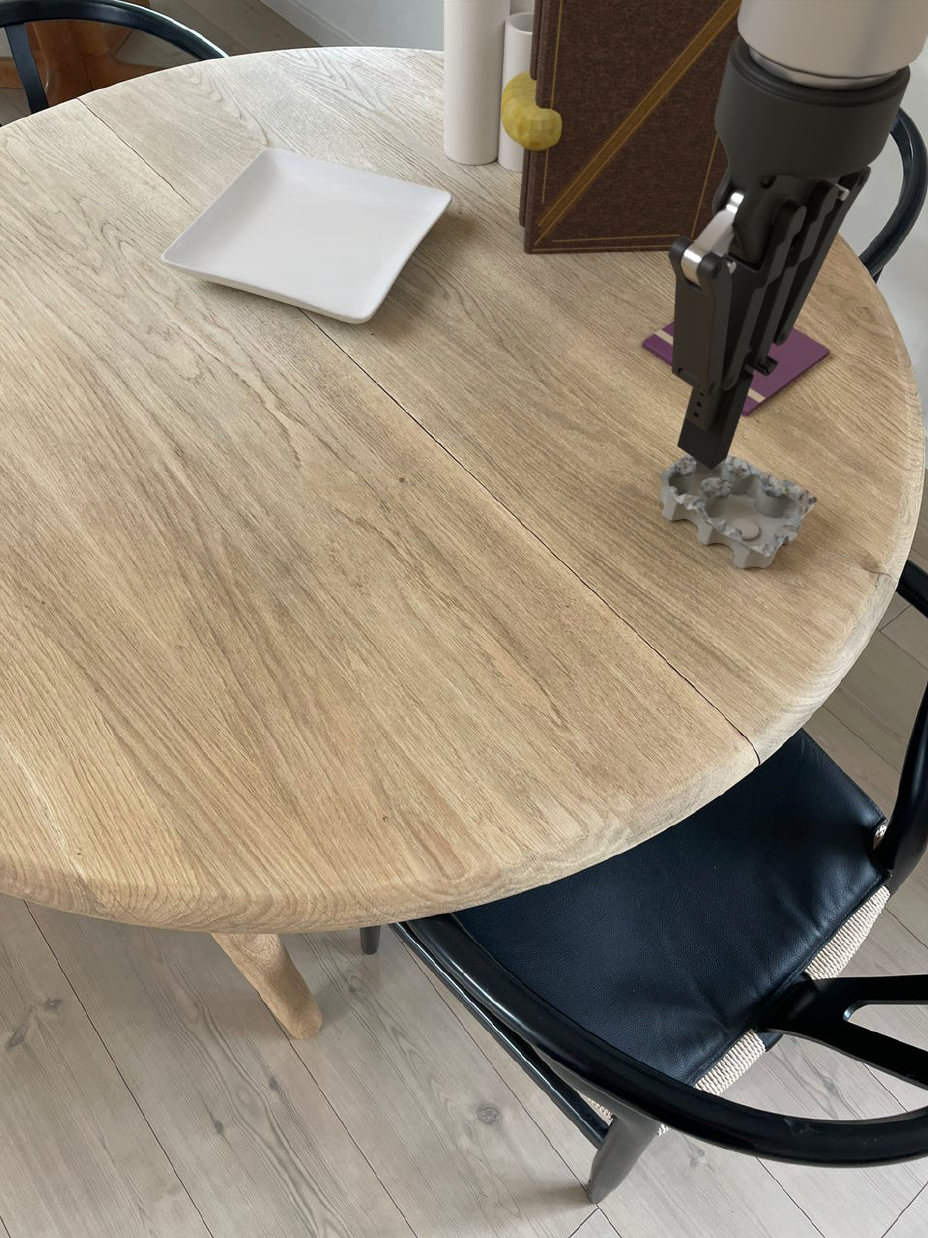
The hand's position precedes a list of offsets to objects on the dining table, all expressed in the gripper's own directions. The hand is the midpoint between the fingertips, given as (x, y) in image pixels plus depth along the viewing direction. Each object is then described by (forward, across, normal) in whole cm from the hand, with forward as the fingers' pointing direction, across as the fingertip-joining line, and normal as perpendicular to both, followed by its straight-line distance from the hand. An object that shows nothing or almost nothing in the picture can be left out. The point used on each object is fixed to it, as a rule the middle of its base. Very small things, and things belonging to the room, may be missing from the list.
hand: (701, 451), depth 60 cm
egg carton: (+15, -10, -2) cm, 18 cm away
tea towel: (+15, -26, -14) cm, 33 cm away
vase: (+15, -32, -52) cm, 63 cm away
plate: (+15, -6, -50) cm, 52 cm away
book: (+15, -30, -34) cm, 48 cm away
